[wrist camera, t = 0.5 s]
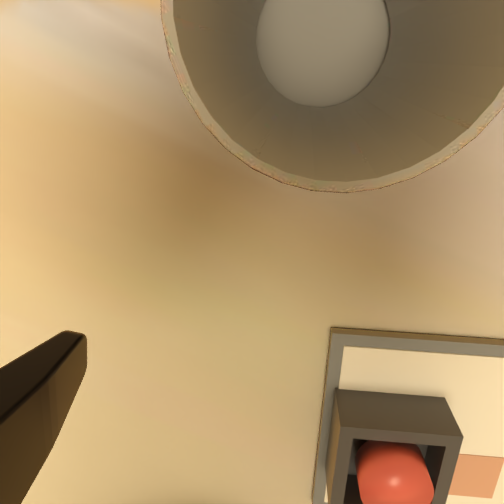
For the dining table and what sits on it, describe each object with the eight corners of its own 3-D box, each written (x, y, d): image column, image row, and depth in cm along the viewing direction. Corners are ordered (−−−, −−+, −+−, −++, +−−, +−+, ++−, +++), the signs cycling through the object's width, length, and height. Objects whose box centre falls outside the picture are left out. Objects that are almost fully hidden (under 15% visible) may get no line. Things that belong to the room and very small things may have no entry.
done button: (416, 488, 25) (427, 522, 23) (351, 482, 25) (355, 515, 23) (428, 438, 23) (440, 469, 21) (358, 432, 24) (364, 462, 22)
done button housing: (424, 476, 27) (440, 522, 24) (324, 467, 27) (328, 511, 24) (444, 396, 25) (463, 436, 22) (335, 387, 25) (340, 426, 22)
